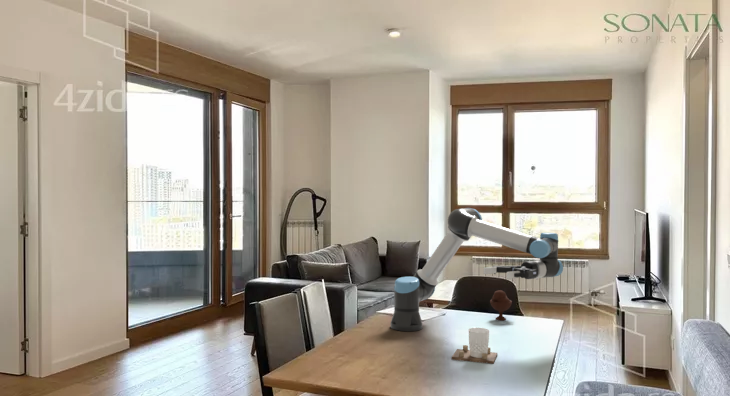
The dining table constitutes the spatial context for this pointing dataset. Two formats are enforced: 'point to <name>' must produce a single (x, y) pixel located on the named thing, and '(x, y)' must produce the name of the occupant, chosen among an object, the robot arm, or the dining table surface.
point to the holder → (465, 356)
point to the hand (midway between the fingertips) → (495, 273)
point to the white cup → (478, 341)
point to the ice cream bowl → (500, 303)
